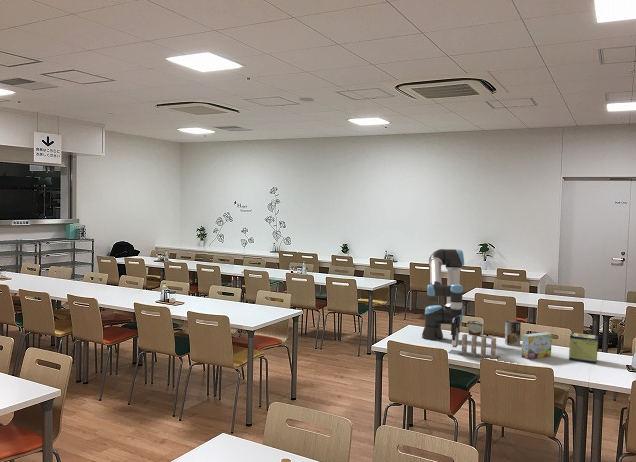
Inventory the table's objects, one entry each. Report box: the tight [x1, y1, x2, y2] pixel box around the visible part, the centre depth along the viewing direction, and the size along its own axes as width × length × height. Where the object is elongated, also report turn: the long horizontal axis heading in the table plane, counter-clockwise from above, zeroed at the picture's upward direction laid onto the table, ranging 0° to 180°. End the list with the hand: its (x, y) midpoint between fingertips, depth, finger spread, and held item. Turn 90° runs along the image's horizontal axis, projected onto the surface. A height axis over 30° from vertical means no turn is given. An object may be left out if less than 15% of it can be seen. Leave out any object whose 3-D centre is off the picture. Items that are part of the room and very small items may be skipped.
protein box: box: [568, 332, 599, 365], centre depth 331 cm, size 10×16×16 cm
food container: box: [466, 320, 484, 338], centre depth 395 cm, size 12×6×10 cm, turn 47°
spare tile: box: [452, 328, 459, 348], centre depth 341 cm, size 2×5×12 cm, turn 151°
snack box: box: [521, 331, 553, 360], centre depth 335 cm, size 21×6×15 cm, turn 117°
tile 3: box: [470, 335, 478, 356], centre depth 336 cm, size 2×5×12 cm, turn 150°
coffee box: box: [504, 320, 521, 346], centre depth 368 cm, size 9×6×16 cm
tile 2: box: [480, 336, 487, 357], centre depth 333 cm, size 2×5×12 cm, turn 151°
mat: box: [447, 349, 501, 361], centre depth 336 cm, size 31×11×1 cm, turn 61°
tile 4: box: [461, 333, 468, 355], centre depth 338 cm, size 2×5×12 cm, turn 151°
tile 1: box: [490, 337, 497, 359], centre depth 330 cm, size 2×5×12 cm, turn 151°
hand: (455, 344), depth 341 cm, fingers closed on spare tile, 5 cm apart
